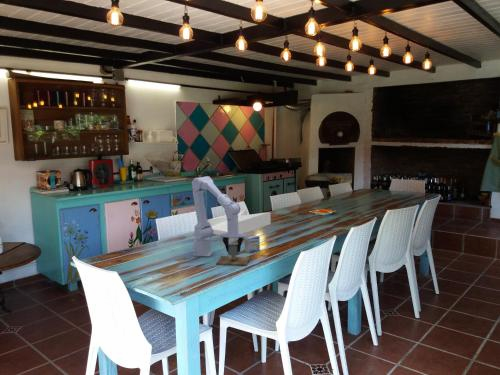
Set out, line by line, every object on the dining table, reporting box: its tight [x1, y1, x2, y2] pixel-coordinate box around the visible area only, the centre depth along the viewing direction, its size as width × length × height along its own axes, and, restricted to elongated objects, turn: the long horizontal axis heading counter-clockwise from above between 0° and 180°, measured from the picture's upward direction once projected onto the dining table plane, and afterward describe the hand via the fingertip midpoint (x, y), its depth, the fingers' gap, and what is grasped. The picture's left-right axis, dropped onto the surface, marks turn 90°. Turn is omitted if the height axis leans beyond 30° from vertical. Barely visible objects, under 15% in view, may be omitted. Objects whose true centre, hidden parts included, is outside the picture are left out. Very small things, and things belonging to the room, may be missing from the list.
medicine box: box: [243, 234, 261, 254], centre depth 233 cm, size 8×4×9 cm, turn 126°
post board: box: [215, 255, 251, 267], centre depth 215 cm, size 16×12×5 cm
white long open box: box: [207, 208, 272, 236], centre depth 289 cm, size 45×22×10 cm, turn 144°
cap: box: [227, 243, 240, 257], centre depth 215 cm, size 5×5×6 cm
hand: (233, 251), depth 215 cm, fingers closed on cap, 5 cm apart
